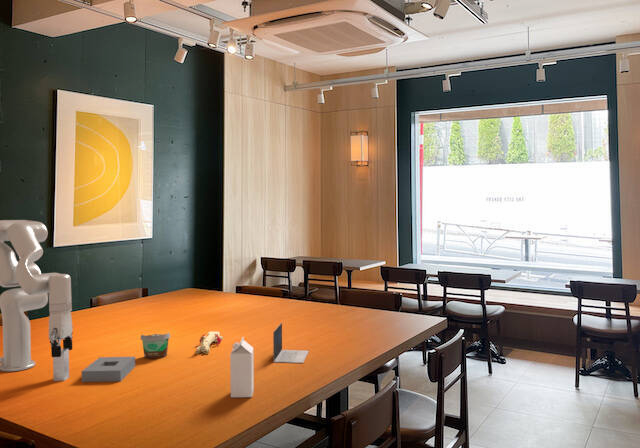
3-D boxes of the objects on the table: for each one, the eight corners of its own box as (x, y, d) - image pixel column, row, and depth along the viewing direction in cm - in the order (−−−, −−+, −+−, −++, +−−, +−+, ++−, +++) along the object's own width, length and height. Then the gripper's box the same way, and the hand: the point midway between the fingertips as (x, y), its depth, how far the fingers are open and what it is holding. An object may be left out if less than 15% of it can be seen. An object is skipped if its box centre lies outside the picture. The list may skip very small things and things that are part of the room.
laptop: (303, 364, 214) (303, 332, 214) (273, 363, 216) (272, 332, 215) (308, 352, 232) (308, 323, 232) (281, 351, 234) (281, 322, 233)
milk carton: (253, 390, 183) (253, 336, 182) (251, 397, 176) (251, 341, 175) (233, 390, 183) (233, 336, 182) (230, 398, 176) (230, 341, 175)
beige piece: (213, 357, 228) (225, 338, 253) (212, 338, 227) (225, 321, 252) (190, 357, 229) (205, 338, 253) (190, 337, 228) (205, 320, 252)
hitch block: (81, 382, 192) (81, 371, 192) (99, 367, 210) (99, 357, 210) (120, 381, 193) (120, 370, 192) (135, 366, 210) (135, 356, 210)
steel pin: (53, 380, 193) (52, 351, 193) (58, 377, 197) (57, 348, 197) (64, 380, 193) (64, 351, 193) (69, 377, 197) (68, 348, 197)
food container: (139, 361, 218) (139, 337, 218) (140, 356, 224) (140, 333, 224) (170, 358, 221) (170, 335, 221) (170, 354, 227) (170, 331, 227)
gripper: (60, 304, 203) (62, 348, 203) (39, 312, 185) (40, 360, 186) (80, 303, 203) (81, 347, 203) (60, 311, 186) (62, 359, 186)
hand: (62, 353), depth 194 cm, fingers open, 9 cm apart
